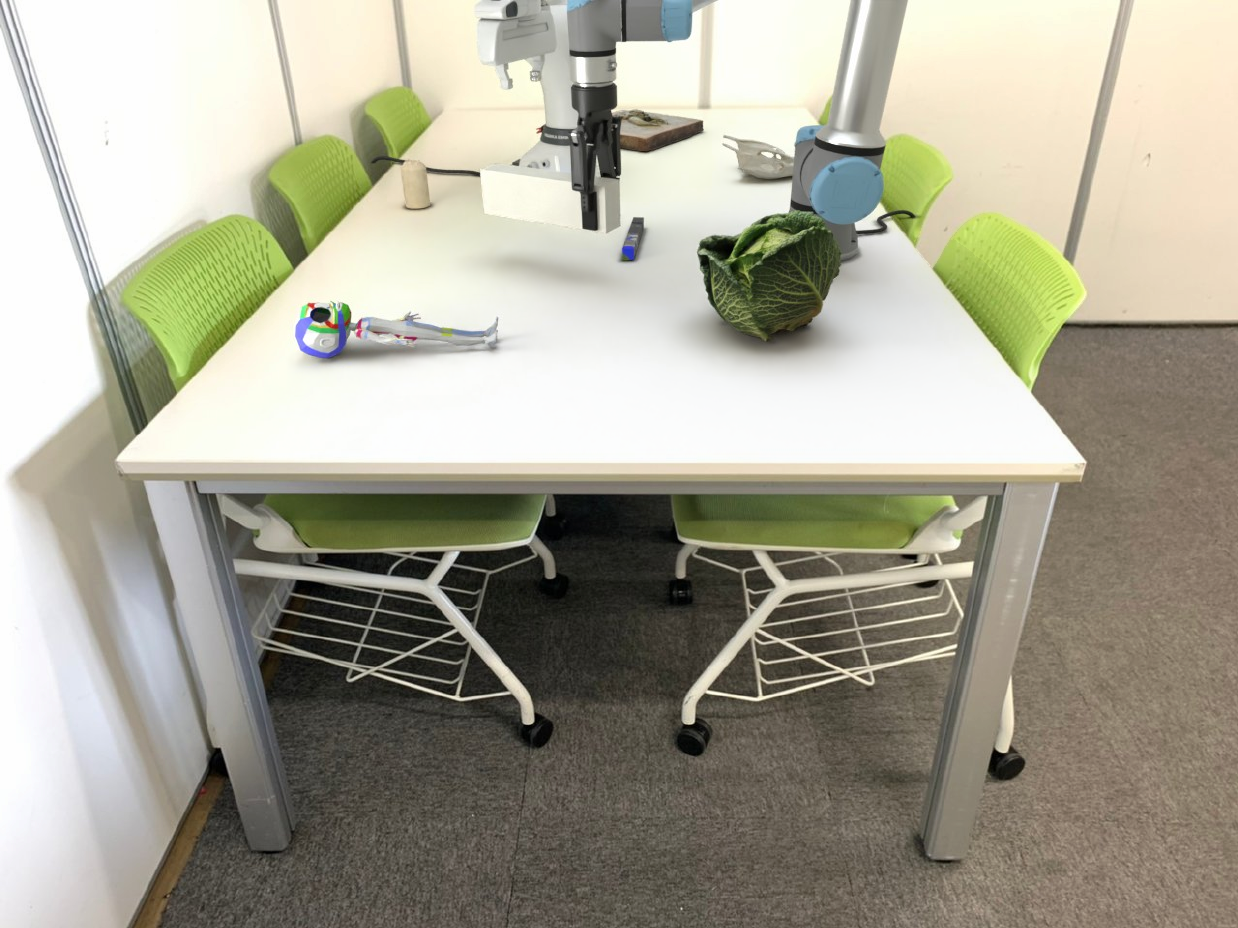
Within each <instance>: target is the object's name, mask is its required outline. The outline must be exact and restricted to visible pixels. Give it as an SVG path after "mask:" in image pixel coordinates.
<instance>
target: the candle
mask: <svg viewBox="0 0 1238 928" xmlns="http://www.w3.org/2000/svg"><path fill="white" fill-rule="evenodd" d="M405 160H406V161H405V162H404V163H402V164H401V166H400V167H399V168H400V175H401V180H402V187H403V188H402V190H403V195H404V197H403V198H404V204H405V207H406V208H408V209H417V210H418V209H424V208H427V207H430V206H431V196H430V189H429V182H428V174H427V172H428V171H426V167H427V166H426V164H425V163H423V162H422V161H420V160H419V159H418V160H415V159H409V158H407V159H405Z"/></svg>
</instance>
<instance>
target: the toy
mask: <svg viewBox="0 0 1238 928" xmlns="http://www.w3.org/2000/svg"><path fill="white" fill-rule="evenodd" d="M411 313H412V311H411V310H410V311H409V312H408V313H406V314H405V315H404V316H403V317H402V318H396V319H391V320H389V319H384V318H380V317H379V318H377V317H374V316H365V317H361V318H360V319H358V321H357V322H352V311H351V308H350V306H349V304H347V303H344V302H342V301H337V302H336V303H335V302H333V301H332V300H330V303H329V302H308V303H306V304H305V305H302V307H301V308H300V311H299V313H298V315H297V318H296V320H295V321H294V325H293V337H294V340H295V342H296V344H297V346H298V348H299V350H300V351H301V352H303V353H305V354H306V355H308V356H312V357H316V358H322V359H329V358H332V357H334V356H337V355H340V354H341V353H342V351H343V350H344V348H345V347H346V346H347V343H348V339H349V337H350V335H351V331H352V332H353V333H354V336H355V337H356V338H358V339H359V340H369V341H371V342H376V343H379V344H382V345H404V346H409V347H412V348H414V346H416V343H414V342H415V341H417V340H424V341H434V342H435V341H437V342H443V343H448V344H451V345H455V346H476V345H482V344H485V345H486V346H489V347H491V348H494V347H495V345H496V343H497V341H498V333H499V330H498V329H497V328H498V326H499V325H498V322H499V317H498V316H496V317H495V321H494V323H493V324H492V325H491V326H490V327H489V328H487V329H486V330H465V329H458V328H453V327H439V326H437V325H433V324H430V323H424V322H418V321H415V320H421V319H422V317H419V315H420V313H416V314H412V315H411ZM416 316H418V317H416ZM381 335H392V336H394V337H391V336H381Z"/></svg>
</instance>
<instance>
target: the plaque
mask: <svg viewBox="0 0 1238 928" xmlns="http://www.w3.org/2000/svg"><path fill="white" fill-rule="evenodd" d="M612 116H618V117H621V119H622V122H621V129H620V145H621V149H625V150H632V151H640V152H648V151H654V150H656V149H659V148H662V147H663V146H664V147H665V146H667V145H670V144H672V143H676V142H680V141H682V140H684V139H687V138H691V137H692V136H694V135H696V134H698V133H700V132H704V130H705V129H704V120H702V119H698V118H693V117H685V116H679V115H669V114H663V113H659V112H650V111H644V110H642V109H637V108H636V109H635V108H634V109H630V110H629V109H620V110H616V111H613V112H612Z"/></svg>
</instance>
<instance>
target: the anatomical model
mask: <svg viewBox="0 0 1238 928" xmlns="http://www.w3.org/2000/svg"><path fill="white" fill-rule="evenodd" d="M722 138H723V139H727V140H730V141H733V142H735V143H736V144H737V148H735V147H733V146H731V145H729V144H728V143H725V142H722V143H721V144H722V145H721V146H723V147H725V148H726V149H729V150H731V151H733V152H734V153H735V154H736V159H737V163H738V167H737V169H738V170H741V171H742V173H744V174H745V175H750V176H751V175H752V176H754V177H755V178H757V179H766V180H769V179H779V178H784V177H785V178H786V177H793V167H794V156H793V155H789V154H787V153H786V152H785V151H783V149H781V148H779V147H777V146H775V145H772V144H770V143H766V142H764V141H759V140H754V139H744V138H738V137H734V136H730V135H726V134H723V136H722ZM762 153H770V154H772V155H773V156H772V157H768V156H766V155H764V154H762ZM777 155H778V156H779V157H780V158H778V157H777Z"/></svg>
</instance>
